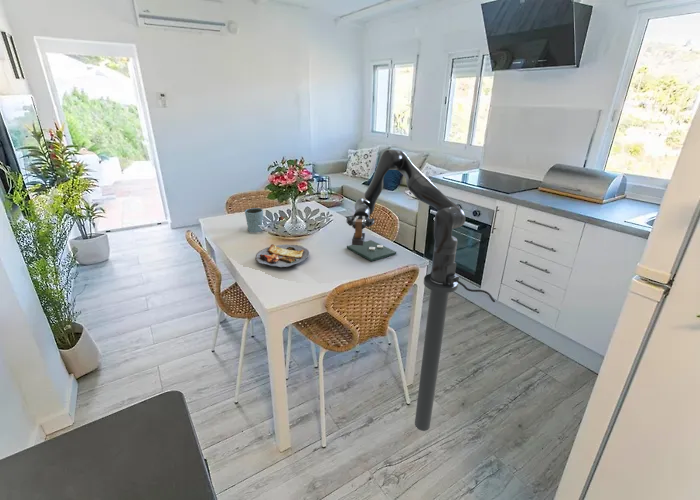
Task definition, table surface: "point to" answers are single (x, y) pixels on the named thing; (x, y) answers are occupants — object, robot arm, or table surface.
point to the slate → (371, 254)
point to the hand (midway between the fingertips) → (358, 226)
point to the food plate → (282, 255)
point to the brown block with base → (358, 233)
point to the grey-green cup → (254, 219)
